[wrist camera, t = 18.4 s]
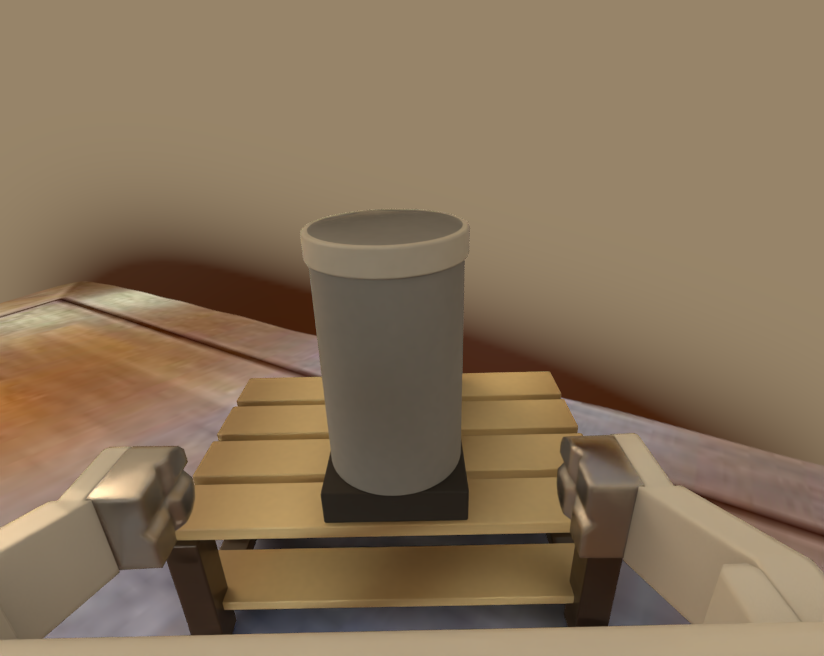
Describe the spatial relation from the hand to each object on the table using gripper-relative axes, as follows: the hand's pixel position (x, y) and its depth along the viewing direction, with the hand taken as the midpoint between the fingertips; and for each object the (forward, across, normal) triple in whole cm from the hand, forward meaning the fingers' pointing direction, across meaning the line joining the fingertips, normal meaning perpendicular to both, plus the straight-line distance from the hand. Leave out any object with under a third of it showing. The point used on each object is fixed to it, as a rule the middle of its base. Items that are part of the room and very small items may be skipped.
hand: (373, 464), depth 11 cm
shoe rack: (+11, 0, +15) cm, 18 cm away
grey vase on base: (+11, 0, +8) cm, 13 cm away
